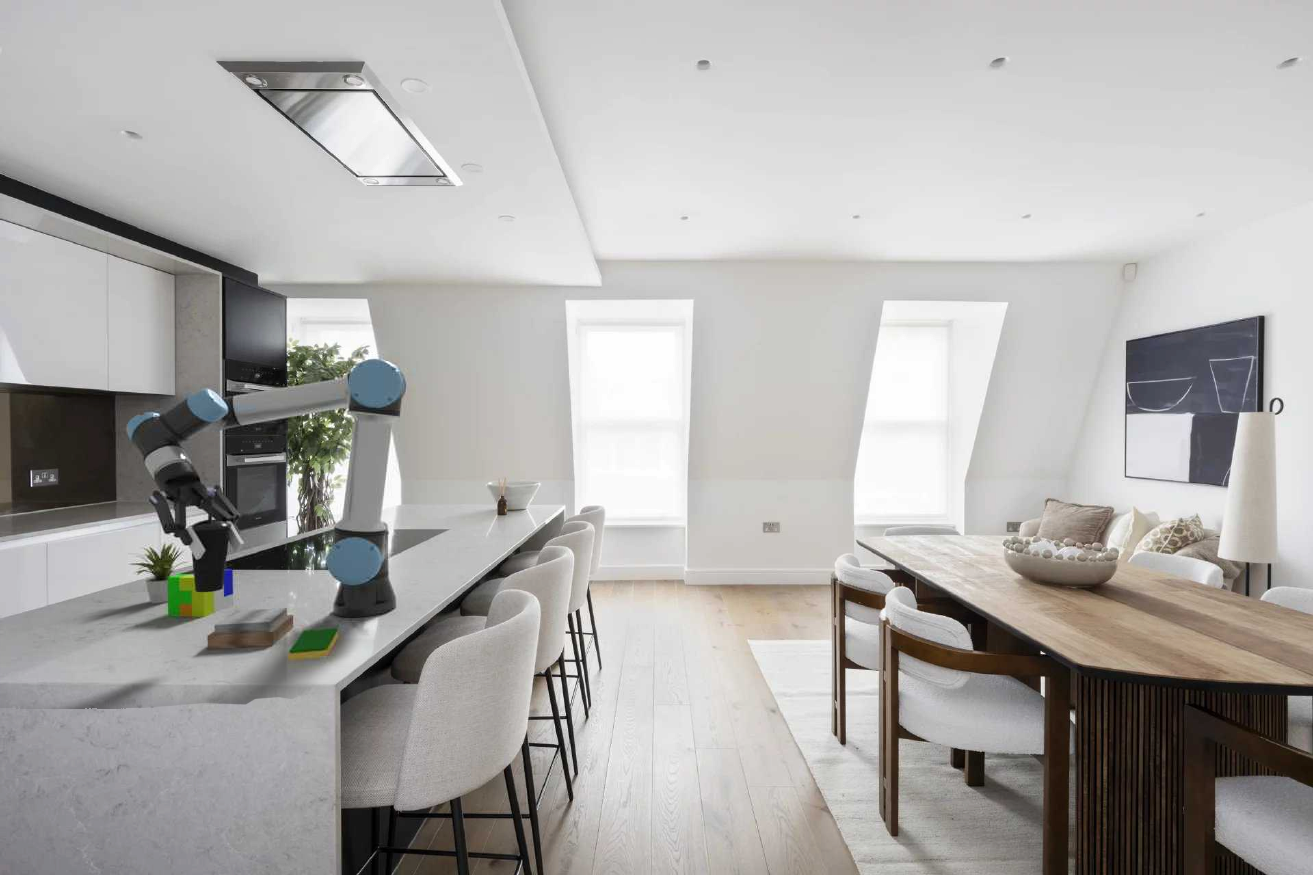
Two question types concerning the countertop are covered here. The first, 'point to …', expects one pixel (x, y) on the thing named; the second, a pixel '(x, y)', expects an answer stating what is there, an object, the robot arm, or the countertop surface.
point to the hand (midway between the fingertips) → (220, 551)
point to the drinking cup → (211, 552)
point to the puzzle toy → (197, 596)
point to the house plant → (159, 572)
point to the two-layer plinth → (251, 628)
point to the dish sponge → (313, 644)
